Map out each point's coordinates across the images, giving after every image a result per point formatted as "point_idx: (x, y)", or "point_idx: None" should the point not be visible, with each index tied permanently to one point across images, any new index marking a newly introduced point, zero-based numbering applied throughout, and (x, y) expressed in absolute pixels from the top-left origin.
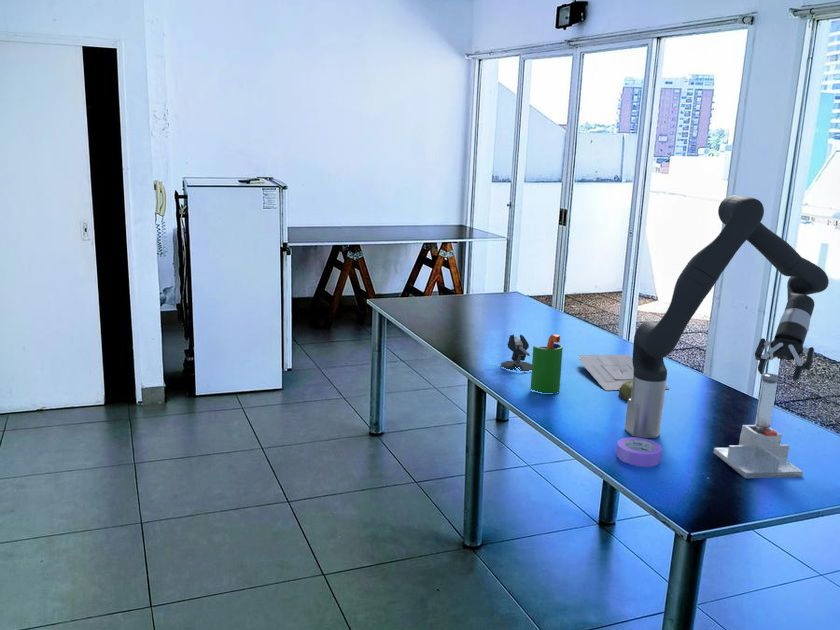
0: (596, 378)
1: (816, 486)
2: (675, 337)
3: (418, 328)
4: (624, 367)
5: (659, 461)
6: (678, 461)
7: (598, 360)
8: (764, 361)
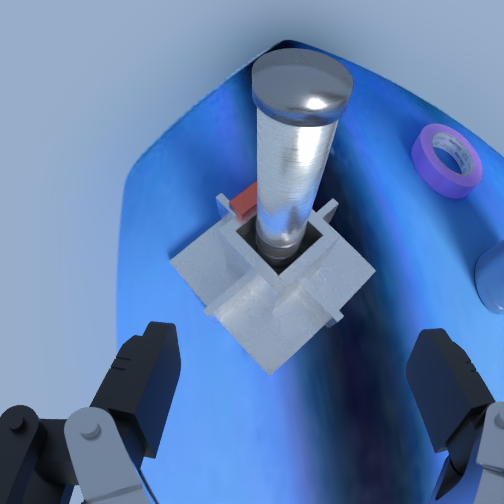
0: None
1: (145, 235)
2: None
3: None
4: None
5: (413, 157)
6: (398, 186)
7: None
8: (465, 391)
